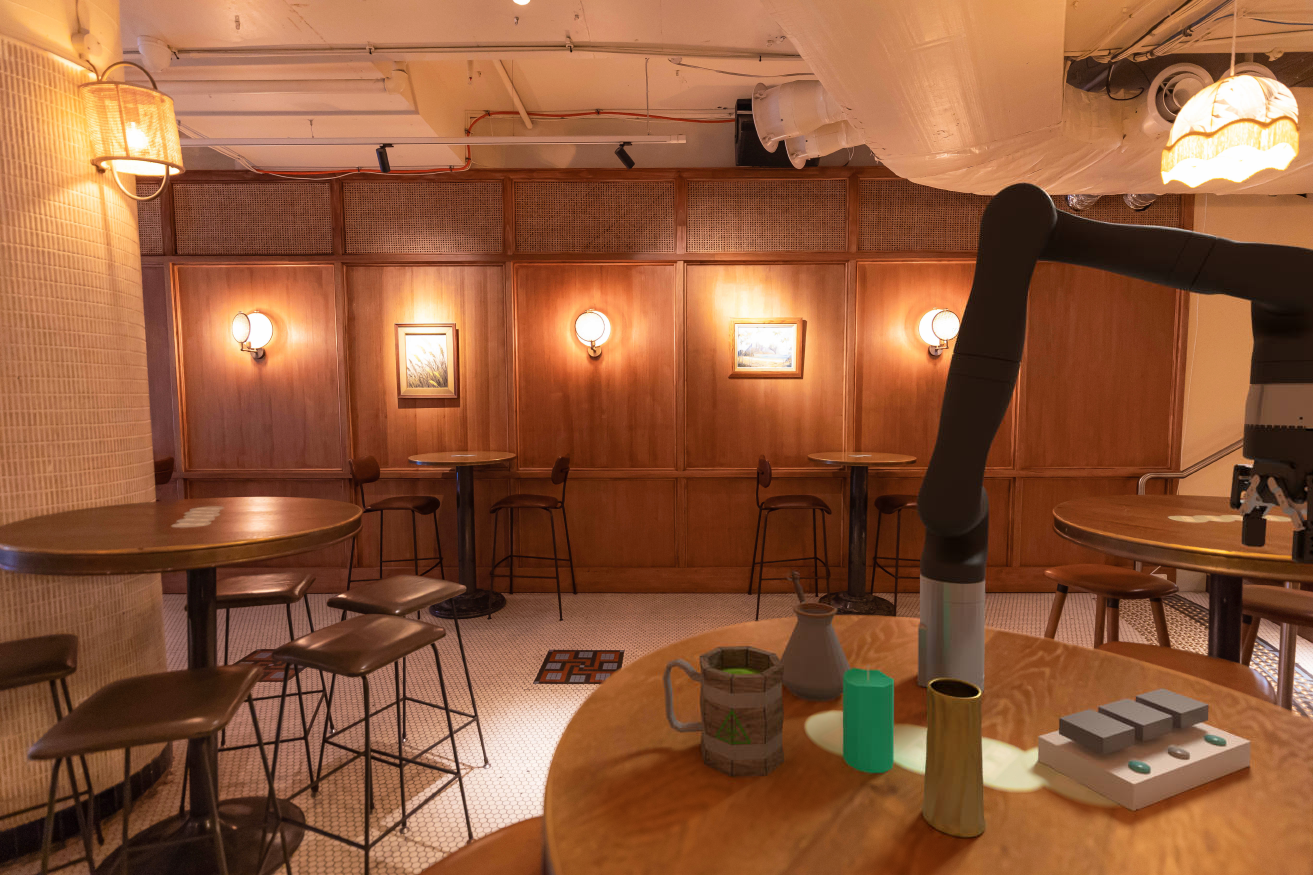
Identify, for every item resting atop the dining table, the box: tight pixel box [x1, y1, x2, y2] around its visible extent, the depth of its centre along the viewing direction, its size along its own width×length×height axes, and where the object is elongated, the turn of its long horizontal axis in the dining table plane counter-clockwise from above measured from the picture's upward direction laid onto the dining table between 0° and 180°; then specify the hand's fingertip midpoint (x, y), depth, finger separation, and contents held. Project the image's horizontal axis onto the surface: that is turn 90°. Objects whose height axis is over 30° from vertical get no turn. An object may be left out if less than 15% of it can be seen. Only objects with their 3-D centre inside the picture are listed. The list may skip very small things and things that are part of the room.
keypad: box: [1037, 722, 1252, 811], centre depth 78 cm, size 22×11×3 cm, turn 113°
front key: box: [1058, 708, 1135, 755], centre depth 76 cm, size 6×5×2 cm
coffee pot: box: [779, 570, 852, 702], centre depth 104 cm, size 21×12×15 cm, turn 0°
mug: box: [662, 645, 785, 778], centre depth 82 cm, size 16×11×12 cm
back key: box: [1134, 687, 1209, 729], centre depth 82 cm, size 6×5×2 cm
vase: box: [921, 678, 986, 838], centre depth 68 cm, size 6×6×14 cm
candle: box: [842, 664, 895, 774], centre depth 80 cm, size 6×6×12 cm
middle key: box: [1097, 697, 1173, 742], centre depth 79 cm, size 6×5×2 cm
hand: (1277, 554), depth 79 cm, fingers open, 8 cm apart
